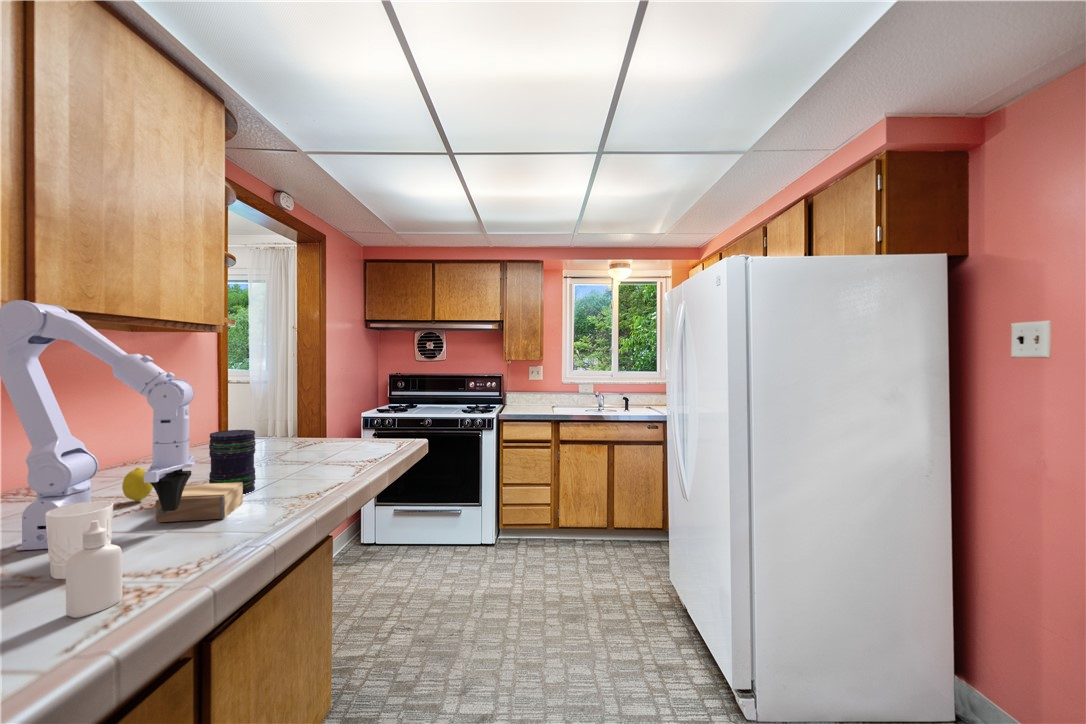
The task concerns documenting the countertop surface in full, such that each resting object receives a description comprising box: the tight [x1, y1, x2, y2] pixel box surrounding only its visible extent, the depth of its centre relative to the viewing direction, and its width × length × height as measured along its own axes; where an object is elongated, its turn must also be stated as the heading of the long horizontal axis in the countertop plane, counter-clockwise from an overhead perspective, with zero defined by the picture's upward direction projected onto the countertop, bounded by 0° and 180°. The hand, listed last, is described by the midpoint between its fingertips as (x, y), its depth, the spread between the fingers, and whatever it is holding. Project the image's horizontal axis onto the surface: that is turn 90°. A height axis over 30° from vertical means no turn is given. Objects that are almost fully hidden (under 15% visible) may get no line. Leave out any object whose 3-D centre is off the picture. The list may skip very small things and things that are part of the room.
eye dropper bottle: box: [65, 520, 123, 619], centre depth 66 cm, size 4×6×12 cm
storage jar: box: [208, 429, 257, 495], centre depth 122 cm, size 10×10×15 cm
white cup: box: [45, 500, 114, 580], centre depth 78 cm, size 8×8×10 cm
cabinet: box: [181, 482, 244, 518], centre depth 106 cm, size 10×12×5 cm
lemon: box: [121, 467, 154, 503], centre depth 113 cm, size 6×6×8 cm
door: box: [155, 496, 226, 523], centre depth 100 cm, size 2×12×5 cm, turn 103°
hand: (170, 509), depth 96 cm, fingers closed
